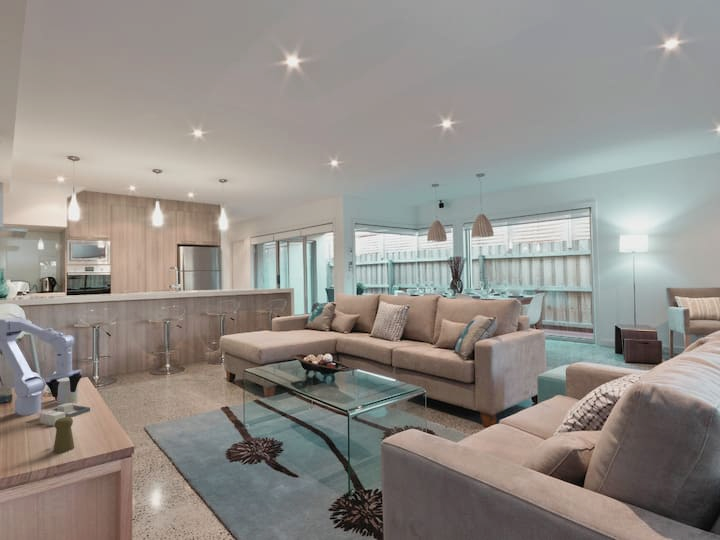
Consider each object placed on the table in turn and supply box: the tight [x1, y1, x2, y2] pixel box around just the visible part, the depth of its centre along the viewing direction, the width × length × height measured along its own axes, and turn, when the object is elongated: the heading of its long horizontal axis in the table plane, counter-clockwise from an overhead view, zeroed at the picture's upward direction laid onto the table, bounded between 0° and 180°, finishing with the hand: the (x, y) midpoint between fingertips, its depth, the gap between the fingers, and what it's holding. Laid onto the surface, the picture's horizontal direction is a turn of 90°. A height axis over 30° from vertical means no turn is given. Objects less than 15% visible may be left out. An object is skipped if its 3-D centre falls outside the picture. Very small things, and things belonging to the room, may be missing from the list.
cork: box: [52, 417, 75, 454], centre depth 141 cm, size 6×6×11 cm
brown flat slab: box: [24, 416, 55, 428], centre depth 163 cm, size 16×7×2 cm, turn 70°
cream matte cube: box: [56, 403, 74, 414], centre depth 174 cm, size 4×4×4 cm
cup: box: [56, 377, 80, 405], centre depth 189 cm, size 8×8×12 cm
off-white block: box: [48, 411, 65, 427], centre depth 161 cm, size 4×4×4 cm
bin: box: [51, 404, 91, 418], centre depth 173 cm, size 13×9×3 cm
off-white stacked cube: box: [39, 409, 57, 424], centre depth 162 cm, size 4×4×4 cm
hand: (64, 394), depth 173 cm, fingers open, 7 cm apart
